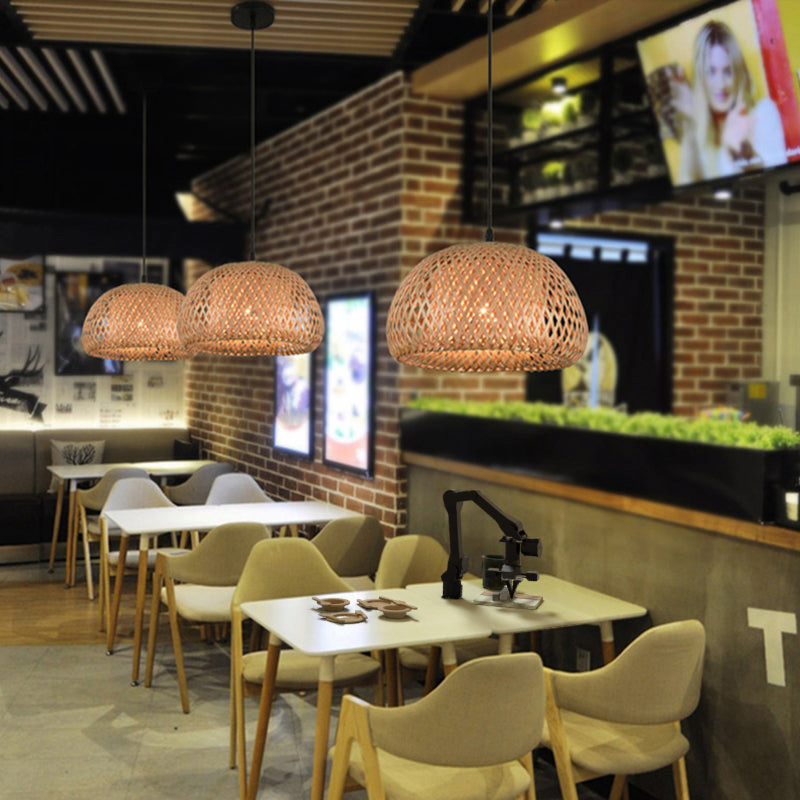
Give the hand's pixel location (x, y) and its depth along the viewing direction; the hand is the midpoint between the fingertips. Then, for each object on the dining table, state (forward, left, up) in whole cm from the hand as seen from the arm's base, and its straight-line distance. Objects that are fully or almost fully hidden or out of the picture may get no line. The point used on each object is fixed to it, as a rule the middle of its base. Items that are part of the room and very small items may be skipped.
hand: (512, 598), depth 367 cm
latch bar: (-3, +5, -1) cm, 6 cm away
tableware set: (-45, -33, -3) cm, 56 cm away
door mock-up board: (-2, +5, -2) cm, 6 cm away
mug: (-13, +29, -2) cm, 32 cm away
